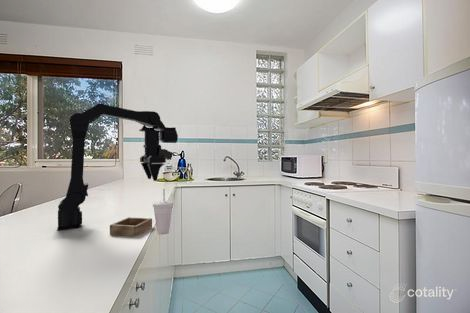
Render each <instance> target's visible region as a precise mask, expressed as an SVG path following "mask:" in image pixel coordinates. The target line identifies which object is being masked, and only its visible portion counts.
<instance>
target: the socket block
mask: <svg viewBox="0 0 470 313" xmlns="http://www.w3.org/2000/svg"><path fill="white" fill-rule="evenodd" d="M152 228H153V218H151V217H150V218H146V217H145V218H144V217H129V216H128V217H126V218H123V219H121V220H118V221H117V222H113V223H112V224H109V235H110V236H125V237H126V236H127V237H128V236H129V237H138V236H140V235H141V234H143V233H145V232H146V231H148V230H150V229H152Z"/></svg>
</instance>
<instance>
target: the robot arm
mask: <svg viewBox="0 0 470 313" xmlns="http://www.w3.org/2000/svg"><path fill="white" fill-rule="evenodd" d="M102 116H105V117H109V118H110V117H111V118H115V119H122V120H125V121H131V122H135V123H138V124H140V125H142V127H141V128H140V129H139V130H138V131H139V132H144V144H143V148H144V154H143V155H141V156H140V157H139V162H140V165H141V166H142V169H143V171H144V173H145V174H146V177H147V179H148V180H151V179H152V180H153V182H157V180H158V177H159V173H160V170H161V168H162V167H164V165H165V164H166V163H167V162H166V161H167V160H168V161H169V160H170V161H172V157H173V155H174V153H173V152H172V151H169V150H168V149H165V148H162V145H161V144H160V141H161V142H162V143H164V144H165V143H166V144H177V142H178V140H179V139H178V137H179V134H178V131H177V129H176V128H177V127H176V126H175V127H174V126H173V127H172V126H171V127H168V126H167V127H166V125H165V124H164V122H163V121H162V120H161V117H160V115H159V113H158V112H156V111H154V110H153V111H152V110H151V111H150V110H149V111H148V110H147V111H146V110H143V111H139V110H132V109H127V108H123V107H117V106H112V105H108V104H104V103H97V104H96V105H94V106H92V107H91V108H88V109H86V110H85V111H83V112H81V113H80V112H76V113H74V114H71V116H70V118H69V126H70V133H71V136H72V137H71V138H72V144H71V145H72V146H71V168H70V169H71V170H70V180H69V184H68V187H67V191H66V196H65V197H64V198H63V199H62V200H61V201H59V204H58V206H57V209H58V210H57V229H56V230H57V231H61V230H69V229H74V228H81V226H82V224H83V211H81V207H80V205H81V204H84V202H85V201H86V197H88V196H89V194H88V189H89V183H88V182H86V183H84V164H85V162H84V161H85V144H86V143H85V142H86V139H87V134H88V129H89V125H90V124H92V123H93V122H95V121H96V120H97V119H99V118H101V117H102Z"/></svg>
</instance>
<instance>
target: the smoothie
mask: <svg viewBox="0 0 470 313" xmlns="http://www.w3.org/2000/svg"><path fill="white" fill-rule="evenodd" d="M173 206H174V202H173V201H171V200H166V188H162V200H160V201H159V200H158V201H154V202H153V203H152V208H153V212H154V220H155V226H156V233H157V235H159V236H160V235H161V236H162V235H167V234H168V235H169V233H170V229H171V220H172V212H173V211H172V210H173Z"/></svg>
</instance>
